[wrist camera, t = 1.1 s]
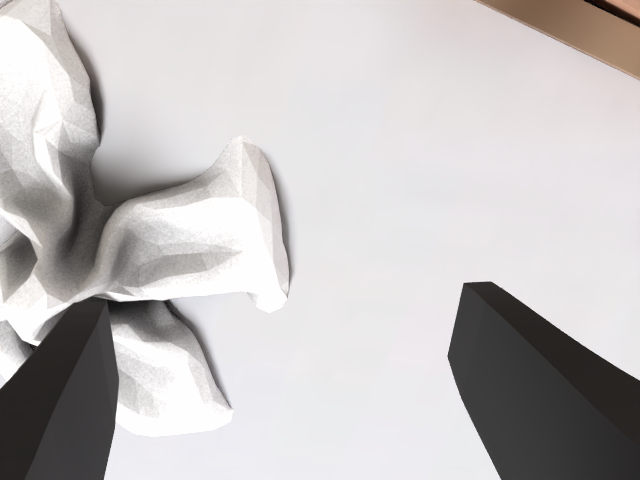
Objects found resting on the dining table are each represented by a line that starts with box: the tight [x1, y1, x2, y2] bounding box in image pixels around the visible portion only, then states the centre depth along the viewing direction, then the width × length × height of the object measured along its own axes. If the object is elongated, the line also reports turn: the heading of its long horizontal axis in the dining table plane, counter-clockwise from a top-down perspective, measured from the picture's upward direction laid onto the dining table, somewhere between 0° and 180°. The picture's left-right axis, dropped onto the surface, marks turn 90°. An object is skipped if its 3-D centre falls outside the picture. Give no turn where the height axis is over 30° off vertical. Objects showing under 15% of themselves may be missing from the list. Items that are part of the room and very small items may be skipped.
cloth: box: [0, 0, 289, 436], centre depth 25 cm, size 22×19×6 cm
